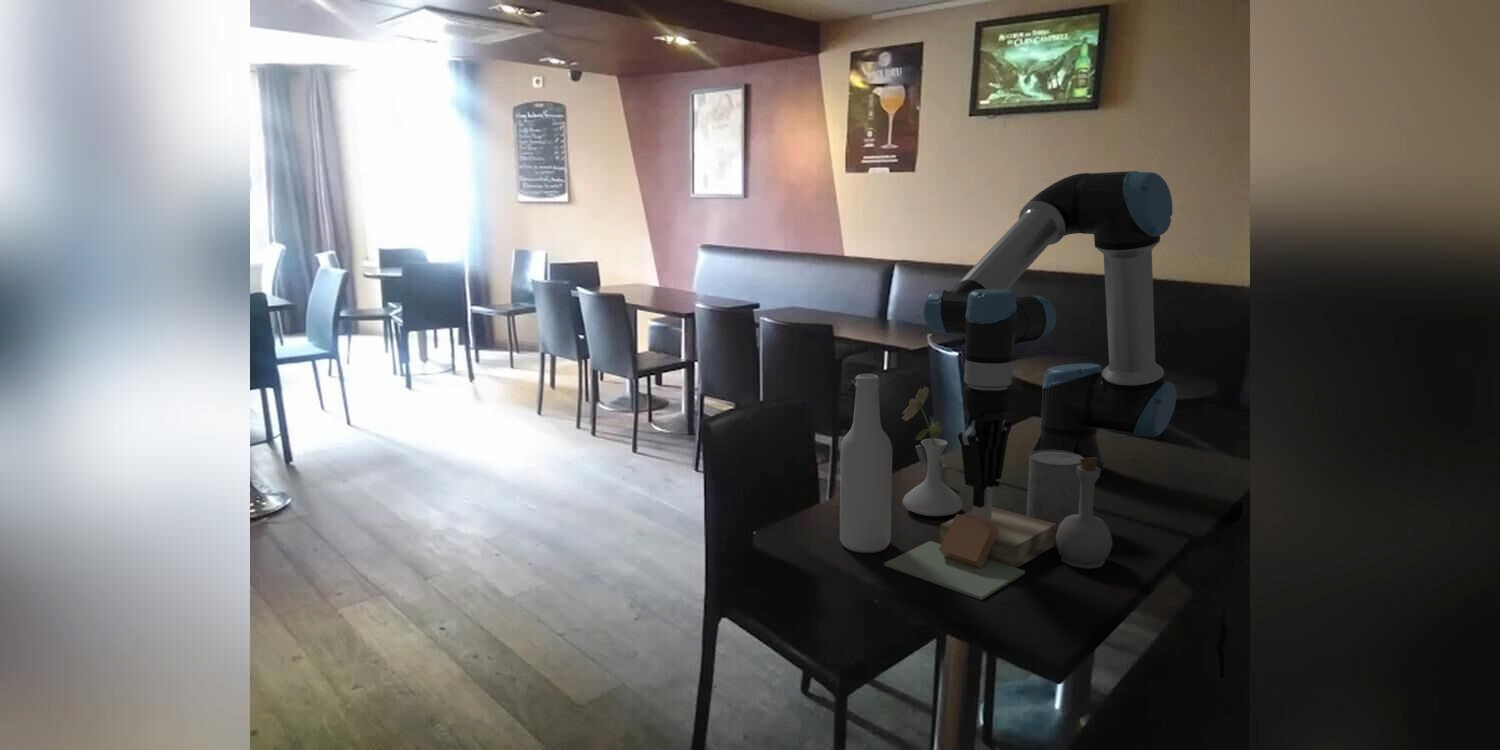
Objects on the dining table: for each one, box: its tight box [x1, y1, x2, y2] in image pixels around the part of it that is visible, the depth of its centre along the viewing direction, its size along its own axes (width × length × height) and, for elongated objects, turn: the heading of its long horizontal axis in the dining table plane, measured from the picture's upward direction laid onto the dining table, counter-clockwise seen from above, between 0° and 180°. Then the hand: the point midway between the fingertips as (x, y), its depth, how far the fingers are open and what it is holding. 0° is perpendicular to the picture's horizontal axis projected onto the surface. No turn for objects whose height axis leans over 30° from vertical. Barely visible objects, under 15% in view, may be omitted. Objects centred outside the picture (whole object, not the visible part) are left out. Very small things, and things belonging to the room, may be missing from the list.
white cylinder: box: [1025, 450, 1084, 531], centre depth 161 cm, size 10×10×12 cm
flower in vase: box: [901, 385, 964, 517], centre depth 165 cm, size 13×11×25 cm
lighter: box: [915, 443, 948, 486], centre depth 184 cm, size 7×2×8 cm, turn 42°
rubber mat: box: [884, 540, 1026, 601], centre depth 142 cm, size 13×18×1 cm
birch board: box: [939, 506, 1057, 568], centre depth 150 cm, size 14×14×4 cm
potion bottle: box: [1055, 457, 1113, 570], centre depth 143 cm, size 9×9×18 cm
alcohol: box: [839, 373, 893, 554], centre depth 150 cm, size 9×9×30 cm
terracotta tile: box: [939, 513, 999, 569], centre depth 144 cm, size 7×7×2 cm
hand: (981, 523), depth 146 cm, fingers closed
